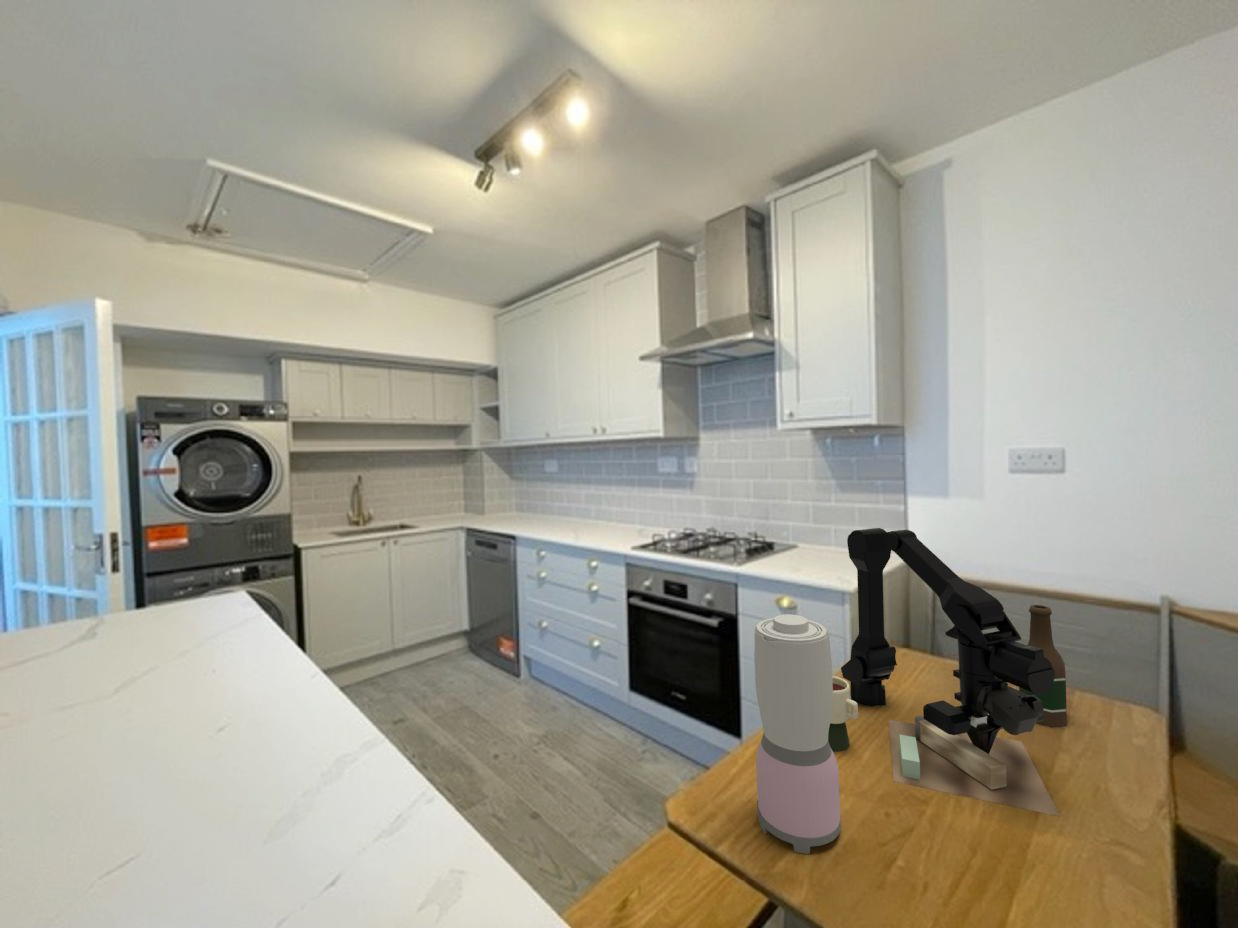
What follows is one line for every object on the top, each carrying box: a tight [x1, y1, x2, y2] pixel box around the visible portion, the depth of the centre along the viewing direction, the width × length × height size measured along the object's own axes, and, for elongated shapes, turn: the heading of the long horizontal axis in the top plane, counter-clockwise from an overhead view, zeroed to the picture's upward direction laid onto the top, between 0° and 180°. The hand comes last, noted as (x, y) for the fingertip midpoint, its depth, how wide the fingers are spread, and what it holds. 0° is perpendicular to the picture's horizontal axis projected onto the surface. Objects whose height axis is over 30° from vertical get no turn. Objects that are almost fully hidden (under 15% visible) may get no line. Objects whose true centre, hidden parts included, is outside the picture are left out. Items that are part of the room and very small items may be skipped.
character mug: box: [828, 675, 859, 753], centre depth 98 cm, size 11×7×13 cm, turn 35°
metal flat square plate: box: [887, 719, 1061, 817], centre depth 91 cm, size 22×21×2 cm
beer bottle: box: [1018, 604, 1068, 729], centre depth 103 cm, size 8×8×24 cm
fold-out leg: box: [914, 715, 1007, 790], centre depth 91 cm, size 17×3×4 cm, turn 12°
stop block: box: [899, 734, 920, 780], centre depth 90 cm, size 3×8×3 cm, turn 154°
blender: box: [753, 613, 842, 855], centre depth 80 cm, size 16×12×32 cm
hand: (983, 757), depth 88 cm, fingers closed
